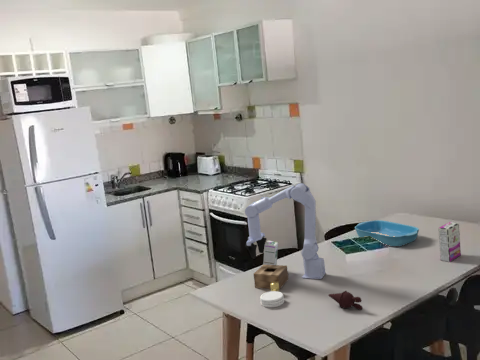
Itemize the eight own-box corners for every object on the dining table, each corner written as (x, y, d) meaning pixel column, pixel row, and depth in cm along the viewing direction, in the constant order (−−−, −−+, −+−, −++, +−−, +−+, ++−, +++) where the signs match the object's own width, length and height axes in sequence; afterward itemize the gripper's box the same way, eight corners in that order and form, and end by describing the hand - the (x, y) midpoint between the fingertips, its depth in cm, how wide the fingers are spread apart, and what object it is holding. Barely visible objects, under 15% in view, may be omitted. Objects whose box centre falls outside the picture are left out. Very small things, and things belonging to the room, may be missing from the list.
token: (281, 292, 229) (279, 281, 228) (278, 295, 226) (276, 285, 225) (273, 291, 231) (271, 281, 230) (270, 295, 227) (268, 284, 227)
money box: (288, 279, 243) (286, 265, 242) (279, 289, 233) (277, 275, 232) (264, 278, 248) (263, 264, 247) (255, 287, 238) (253, 273, 237)
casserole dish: (428, 240, 276) (427, 227, 275) (401, 251, 264) (400, 238, 263) (374, 229, 306) (373, 217, 305) (347, 239, 294) (347, 227, 293)
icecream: (322, 293, 207) (356, 303, 198) (331, 282, 212) (365, 291, 203) (324, 306, 210) (358, 317, 201) (333, 296, 215) (367, 305, 206)
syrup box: (274, 273, 253) (276, 245, 250) (262, 271, 255) (264, 243, 251) (276, 269, 259) (278, 241, 255) (264, 267, 260) (267, 240, 256)
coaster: (267, 310, 213) (266, 302, 212) (256, 302, 222) (256, 294, 222) (288, 303, 217) (287, 296, 216) (277, 296, 226) (276, 288, 225)
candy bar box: (451, 253, 252) (449, 221, 249) (461, 255, 248) (459, 222, 245) (439, 260, 245) (437, 227, 242) (449, 262, 241) (448, 228, 238)
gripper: (254, 224, 258) (257, 250, 260) (239, 232, 246) (243, 259, 248) (267, 224, 254) (270, 251, 256) (252, 233, 242) (255, 260, 244)
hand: (257, 255), depth 252 cm, fingers open, 7 cm apart
